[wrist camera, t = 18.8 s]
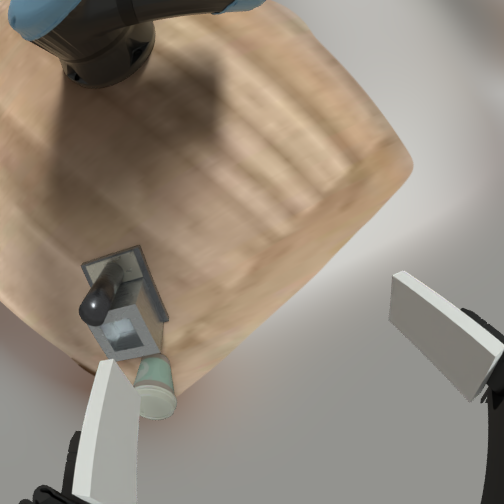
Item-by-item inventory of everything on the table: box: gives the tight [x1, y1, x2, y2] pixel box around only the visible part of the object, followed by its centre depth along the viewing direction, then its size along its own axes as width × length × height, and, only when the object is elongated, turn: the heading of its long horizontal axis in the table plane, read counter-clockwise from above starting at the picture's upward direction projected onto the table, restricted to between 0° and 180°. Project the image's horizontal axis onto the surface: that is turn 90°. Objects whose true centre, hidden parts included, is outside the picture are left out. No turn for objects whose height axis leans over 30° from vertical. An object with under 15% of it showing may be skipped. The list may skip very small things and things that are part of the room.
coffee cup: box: [133, 353, 177, 420], centre depth 43 cm, size 8×9×12 cm
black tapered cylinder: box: [79, 263, 124, 327], centre depth 33 cm, size 4×4×12 cm
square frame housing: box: [81, 245, 169, 361], centre depth 38 cm, size 14×11×9 cm
